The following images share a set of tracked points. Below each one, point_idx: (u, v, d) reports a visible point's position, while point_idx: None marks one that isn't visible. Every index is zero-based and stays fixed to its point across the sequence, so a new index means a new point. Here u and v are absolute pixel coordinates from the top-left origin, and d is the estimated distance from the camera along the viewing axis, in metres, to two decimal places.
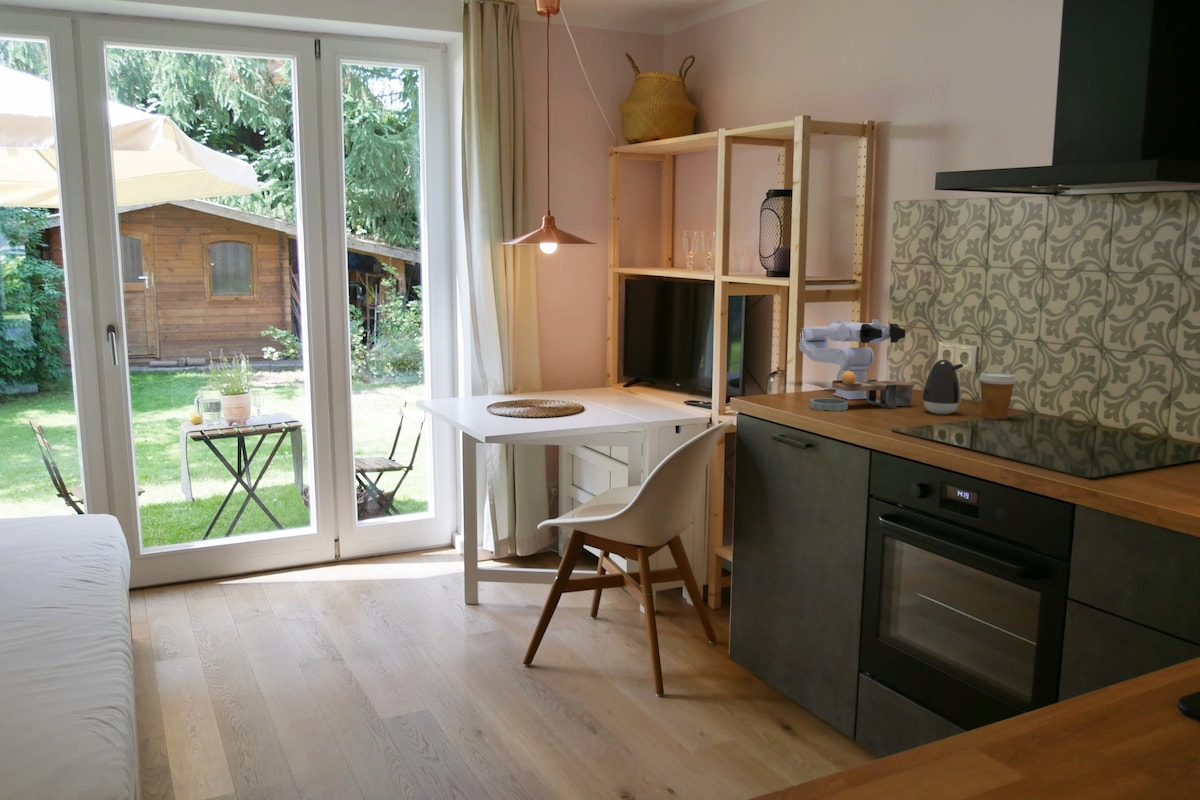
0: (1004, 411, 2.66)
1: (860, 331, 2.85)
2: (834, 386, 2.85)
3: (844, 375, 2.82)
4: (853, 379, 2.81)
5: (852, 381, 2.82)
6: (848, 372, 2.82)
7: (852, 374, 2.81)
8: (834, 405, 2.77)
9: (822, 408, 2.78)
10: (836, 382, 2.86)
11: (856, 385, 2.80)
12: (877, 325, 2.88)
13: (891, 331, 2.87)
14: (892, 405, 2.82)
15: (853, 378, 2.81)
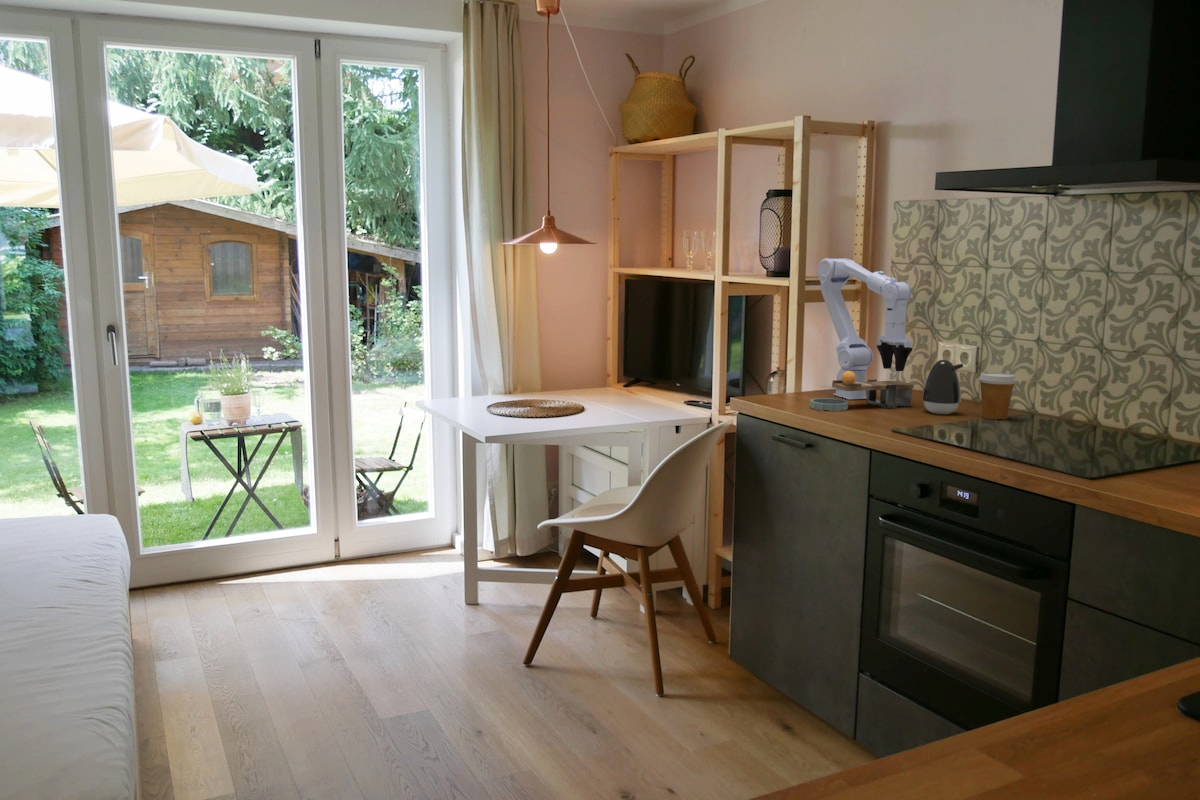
0: (1004, 411, 2.66)
1: (907, 347, 2.81)
2: (834, 386, 2.85)
3: (844, 375, 2.82)
4: (853, 379, 2.81)
5: (852, 381, 2.82)
6: (848, 372, 2.82)
7: (852, 374, 2.81)
8: (834, 405, 2.77)
9: (822, 408, 2.78)
10: (836, 382, 2.86)
11: (856, 385, 2.80)
12: None
13: (889, 347, 2.90)
14: (892, 405, 2.82)
15: (853, 378, 2.81)
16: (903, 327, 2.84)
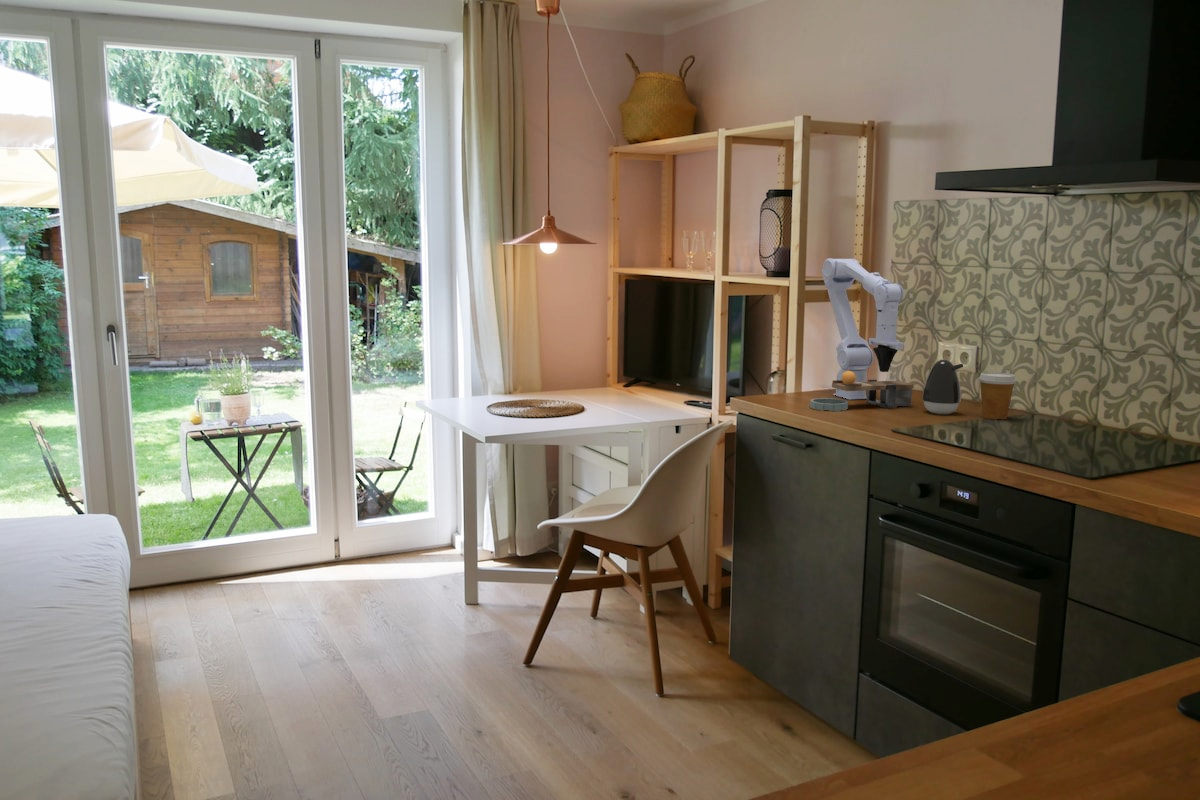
0: (1004, 411, 2.66)
1: (892, 348, 2.83)
2: (834, 386, 2.85)
3: (844, 375, 2.82)
4: (853, 379, 2.81)
5: (852, 381, 2.82)
6: (848, 372, 2.82)
7: (852, 374, 2.81)
8: (834, 405, 2.77)
9: (822, 408, 2.78)
10: (836, 382, 2.86)
11: (856, 385, 2.80)
12: None
13: None
14: (892, 405, 2.82)
15: (853, 378, 2.81)
16: (894, 329, 2.83)
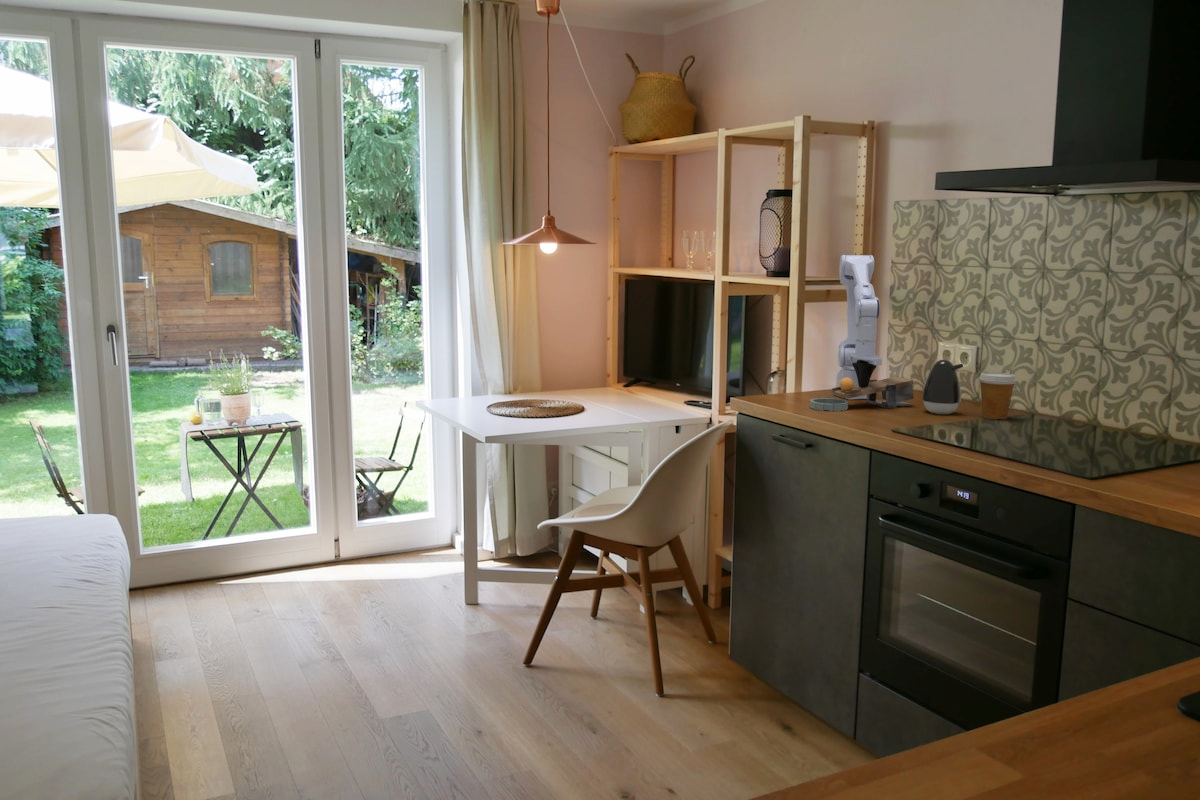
0: (1004, 411, 2.66)
1: (871, 364, 2.81)
2: (834, 394, 2.85)
3: (842, 383, 2.82)
4: (851, 385, 2.82)
5: (851, 387, 2.82)
6: (845, 379, 2.82)
7: (849, 380, 2.82)
8: (834, 405, 2.77)
9: (822, 408, 2.78)
10: (836, 389, 2.86)
11: (856, 391, 2.80)
12: None
13: (865, 365, 2.84)
14: (892, 405, 2.82)
15: (851, 384, 2.81)
16: (873, 344, 2.81)
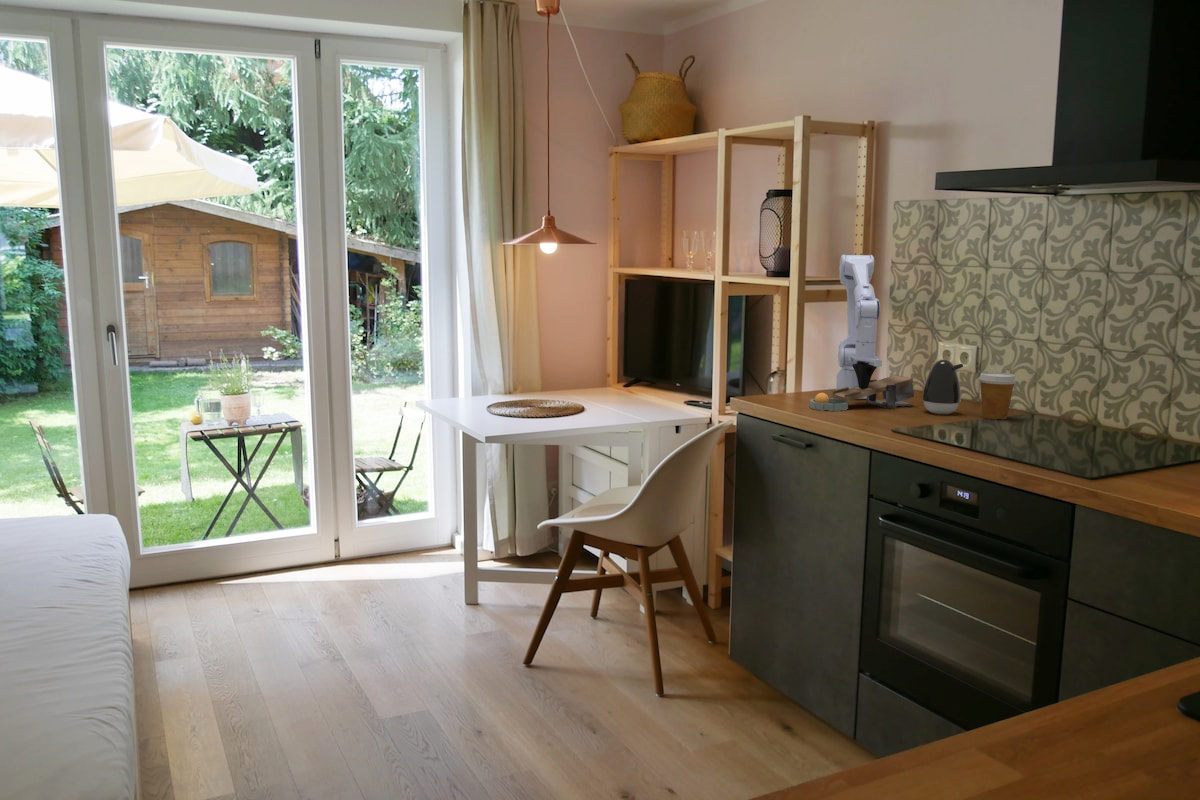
0: (1004, 411, 2.66)
1: (871, 365, 2.81)
2: (835, 397, 2.86)
3: (825, 394, 2.81)
4: (824, 402, 2.80)
5: (822, 401, 2.80)
6: (828, 397, 2.81)
7: (828, 401, 2.81)
8: (834, 405, 2.77)
9: (822, 408, 2.78)
10: (836, 392, 2.86)
11: (856, 393, 2.80)
12: None
13: (865, 366, 2.84)
14: (892, 405, 2.82)
15: (825, 402, 2.80)
16: (873, 345, 2.81)
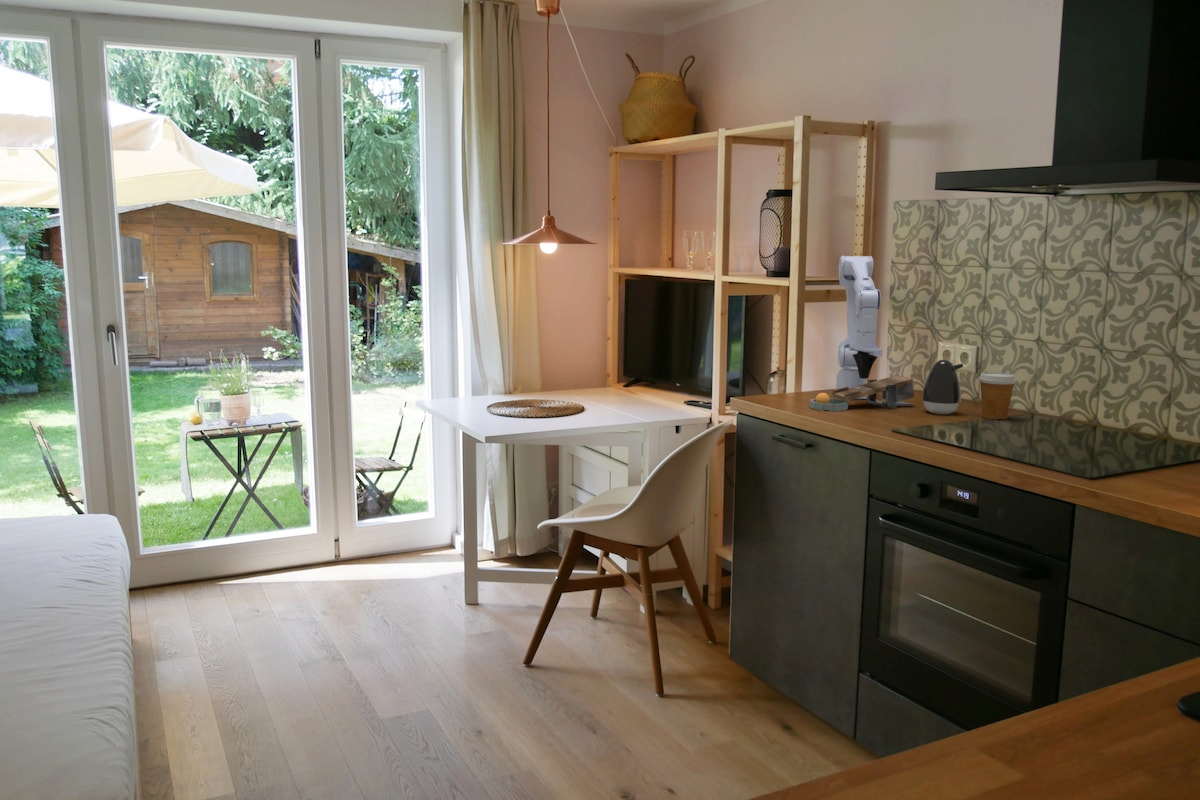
0: (1004, 411, 2.66)
1: (871, 355, 2.81)
2: (835, 396, 2.86)
3: (826, 394, 2.81)
4: (825, 402, 2.80)
5: (823, 401, 2.80)
6: None
7: (828, 401, 2.81)
8: (834, 405, 2.77)
9: (822, 408, 2.78)
10: (836, 392, 2.86)
11: (856, 393, 2.80)
12: None
13: None
14: (892, 405, 2.82)
15: (826, 402, 2.80)
16: (874, 335, 2.80)
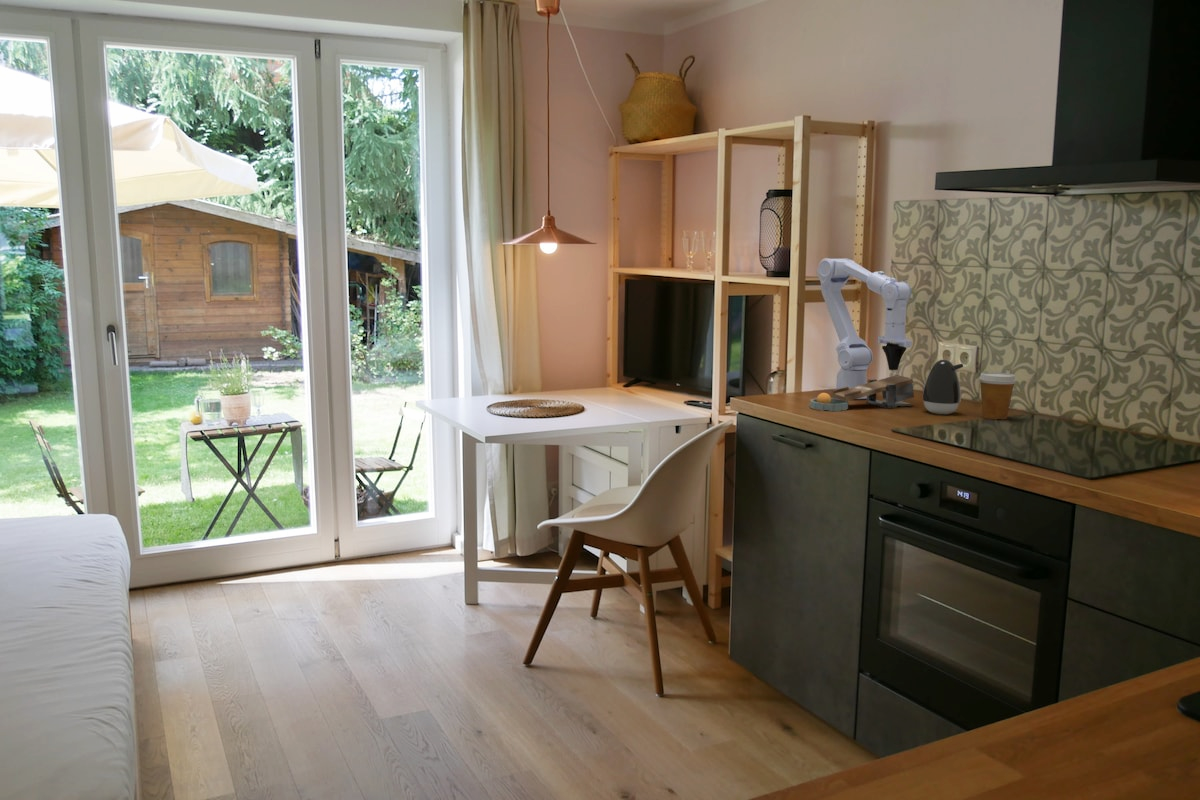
0: (1004, 411, 2.66)
1: (901, 347, 2.84)
2: (835, 396, 2.86)
3: (829, 395, 2.82)
4: (826, 401, 2.80)
5: (824, 400, 2.80)
6: (830, 399, 2.82)
7: (829, 402, 2.81)
8: (834, 405, 2.77)
9: (822, 408, 2.78)
10: (836, 392, 2.86)
11: (856, 393, 2.80)
12: None
13: (895, 348, 2.87)
14: (892, 405, 2.82)
15: (827, 402, 2.80)
16: (903, 327, 2.84)
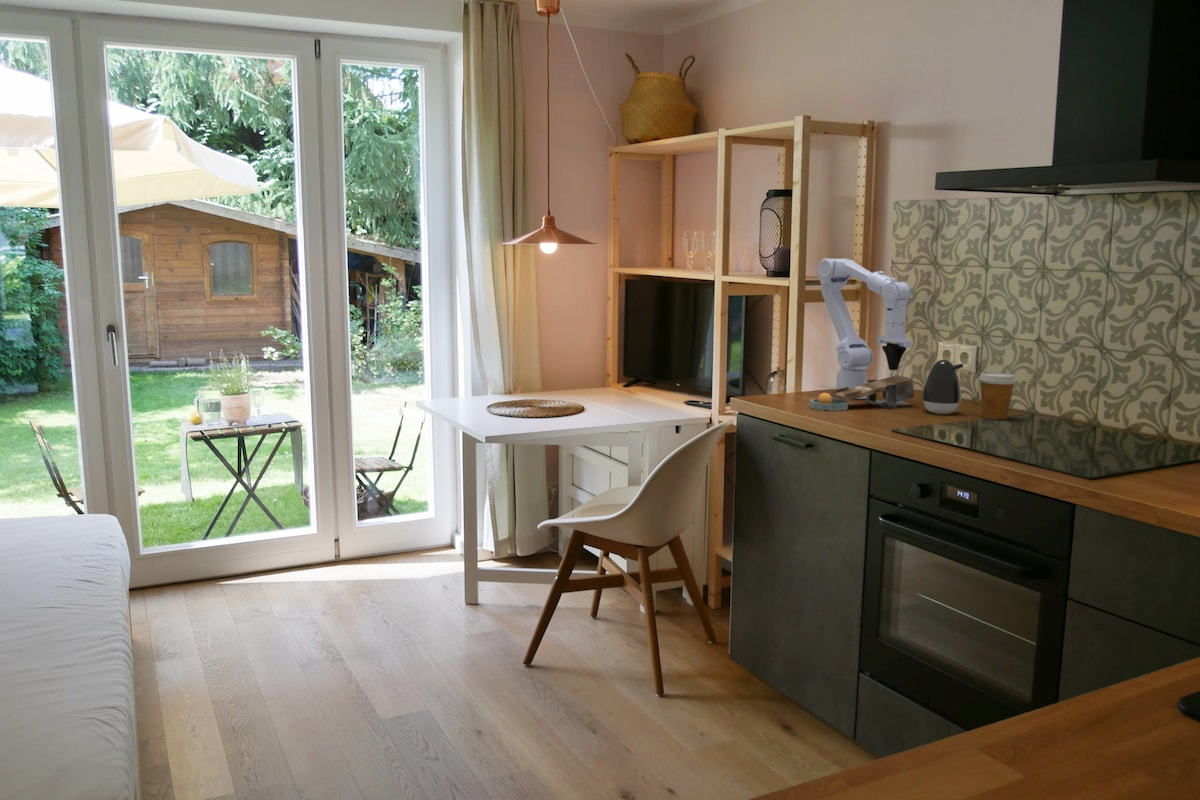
0: (1004, 411, 2.66)
1: (901, 347, 2.84)
2: (835, 396, 2.86)
3: (830, 395, 2.82)
4: (827, 401, 2.80)
5: (825, 400, 2.80)
6: (831, 400, 2.82)
7: (830, 403, 2.81)
8: (834, 405, 2.77)
9: (822, 408, 2.78)
10: (836, 392, 2.86)
11: (856, 393, 2.80)
12: None
13: (895, 348, 2.87)
14: (892, 405, 2.82)
15: (827, 402, 2.80)
16: (903, 327, 2.84)
